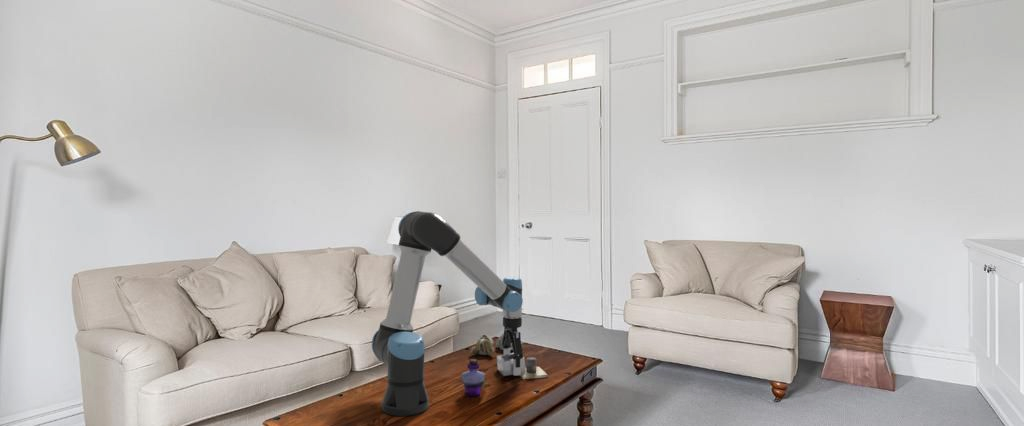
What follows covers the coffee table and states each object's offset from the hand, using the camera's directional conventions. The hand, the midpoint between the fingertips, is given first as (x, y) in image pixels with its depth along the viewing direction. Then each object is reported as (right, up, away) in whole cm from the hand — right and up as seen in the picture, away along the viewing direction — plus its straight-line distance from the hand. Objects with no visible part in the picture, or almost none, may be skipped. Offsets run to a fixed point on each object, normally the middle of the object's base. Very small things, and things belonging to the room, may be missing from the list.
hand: (511, 369), depth 210 cm
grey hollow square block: (0, 0, 0) cm, 0 cm away
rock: (-1, -1, +34) cm, 34 cm away
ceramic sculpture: (-12, -1, +24) cm, 27 cm away
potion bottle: (-14, -2, -24) cm, 28 cm away
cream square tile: (+8, -1, -2) cm, 8 cm away
